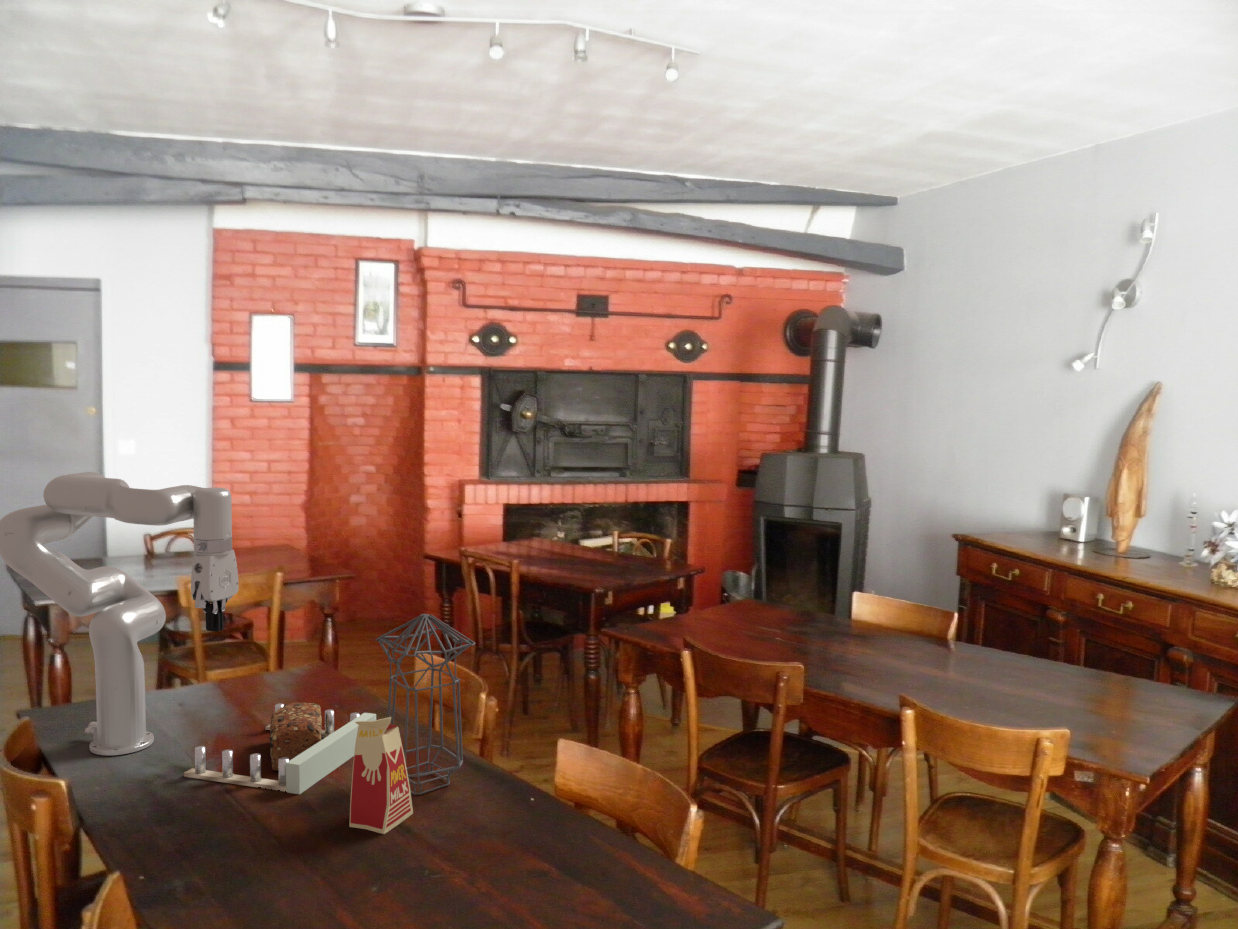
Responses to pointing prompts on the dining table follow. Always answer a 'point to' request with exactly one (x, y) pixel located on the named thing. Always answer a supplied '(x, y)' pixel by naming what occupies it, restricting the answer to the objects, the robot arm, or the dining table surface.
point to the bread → (294, 730)
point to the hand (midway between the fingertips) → (214, 630)
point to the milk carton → (379, 778)
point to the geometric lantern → (450, 633)
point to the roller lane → (297, 770)
